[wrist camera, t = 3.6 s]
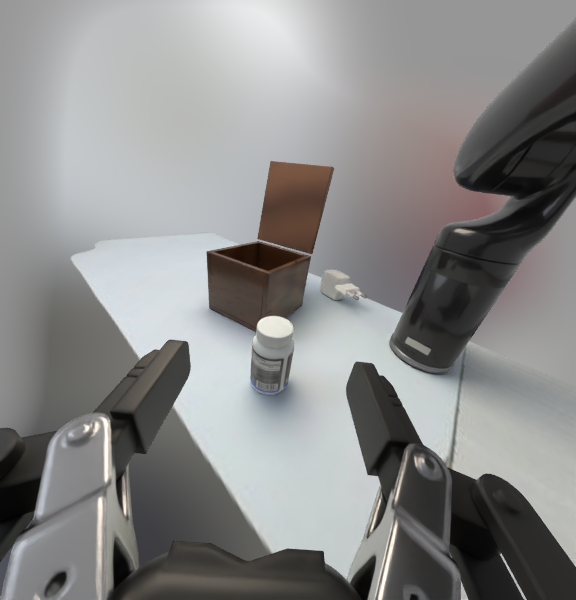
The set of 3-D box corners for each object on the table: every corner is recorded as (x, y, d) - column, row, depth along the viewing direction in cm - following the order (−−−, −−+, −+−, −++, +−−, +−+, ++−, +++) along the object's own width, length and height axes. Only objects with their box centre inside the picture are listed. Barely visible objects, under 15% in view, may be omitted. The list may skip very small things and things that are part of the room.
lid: (332, 166, 35) (334, 168, 36) (270, 160, 40) (272, 162, 41) (310, 253, 39) (312, 253, 40) (257, 238, 45) (259, 239, 45)
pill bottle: (271, 361, 30) (277, 309, 26) (295, 382, 27) (306, 329, 23) (242, 377, 27) (244, 321, 23) (265, 403, 24) (273, 345, 20)
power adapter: (365, 309, 47) (373, 286, 44) (350, 314, 44) (358, 289, 42) (330, 288, 55) (336, 267, 52) (316, 291, 52) (321, 269, 50)
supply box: (263, 335, 34) (269, 273, 29) (209, 308, 39) (206, 251, 34) (301, 305, 45) (311, 256, 40) (255, 286, 50) (258, 241, 45)
